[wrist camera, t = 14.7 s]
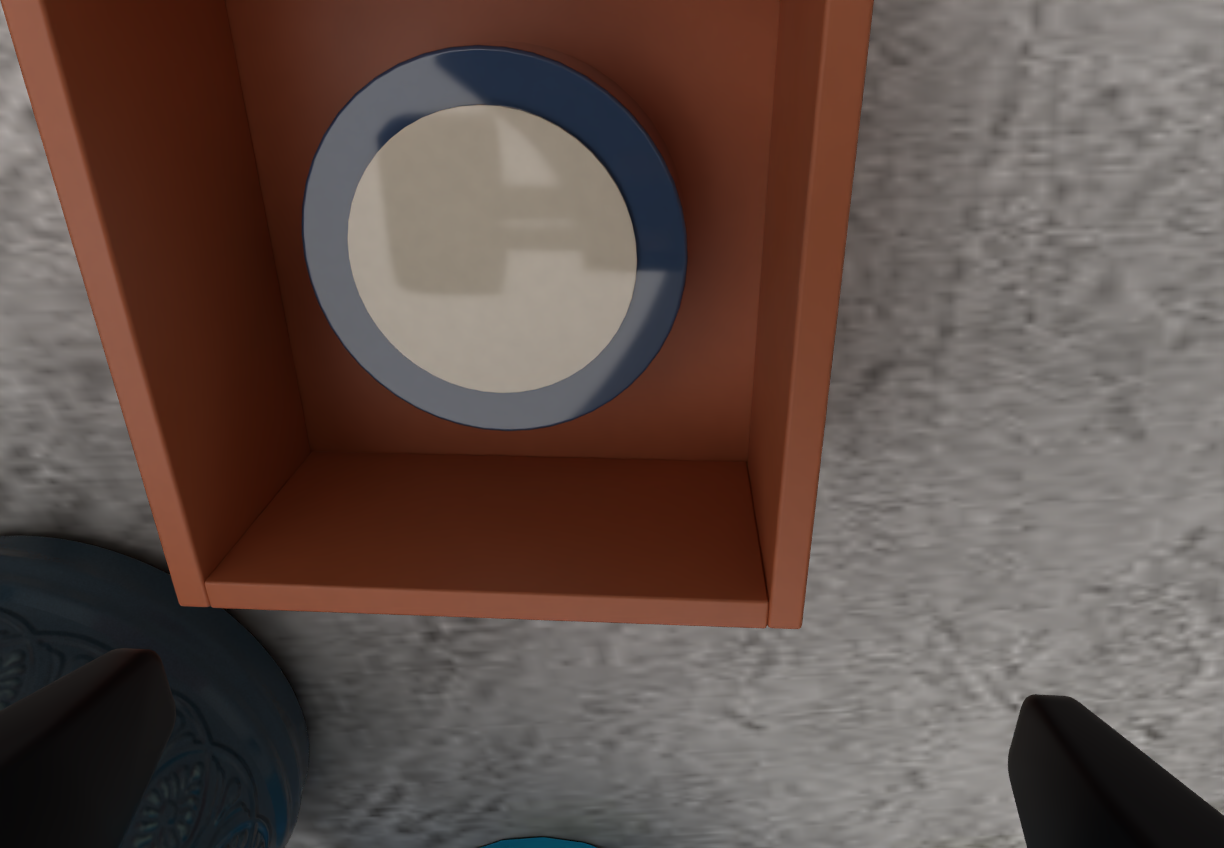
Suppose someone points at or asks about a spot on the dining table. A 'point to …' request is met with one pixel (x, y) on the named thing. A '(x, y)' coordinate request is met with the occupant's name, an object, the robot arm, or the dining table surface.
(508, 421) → the navy jar lid
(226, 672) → the canister
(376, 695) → the dining table surface
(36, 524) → the dining table surface
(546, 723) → the dining table surface
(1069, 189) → the dining table surface
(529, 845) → the mug
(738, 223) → the tub
